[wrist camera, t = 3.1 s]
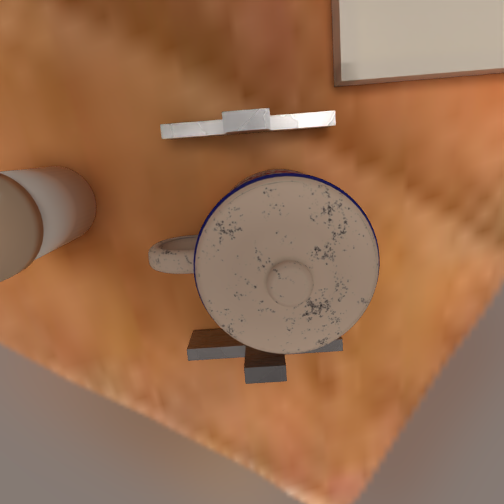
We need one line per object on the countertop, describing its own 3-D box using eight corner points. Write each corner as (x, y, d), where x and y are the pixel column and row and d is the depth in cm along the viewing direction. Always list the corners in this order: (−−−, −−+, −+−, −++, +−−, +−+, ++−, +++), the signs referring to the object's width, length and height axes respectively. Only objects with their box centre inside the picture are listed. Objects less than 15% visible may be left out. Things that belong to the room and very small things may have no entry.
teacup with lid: (347, 162, 29) (404, 174, 18) (345, 296, 31) (394, 382, 20) (162, 168, 29) (103, 183, 18) (172, 300, 31) (125, 388, 20)
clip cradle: (194, 343, 32) (180, 387, 26) (169, 123, 29) (147, 117, 23) (334, 334, 32) (352, 376, 26) (327, 110, 28) (345, 101, 22)
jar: (26, 246, 31) (-66, 287, 22) (10, 166, 29) (-94, 175, 21) (104, 241, 30) (43, 279, 22) (92, 159, 29) (21, 166, 20)
